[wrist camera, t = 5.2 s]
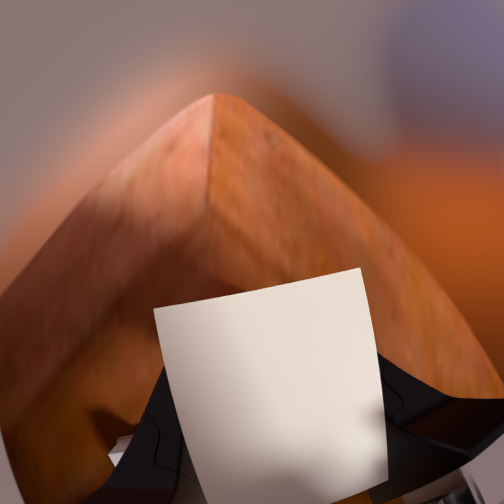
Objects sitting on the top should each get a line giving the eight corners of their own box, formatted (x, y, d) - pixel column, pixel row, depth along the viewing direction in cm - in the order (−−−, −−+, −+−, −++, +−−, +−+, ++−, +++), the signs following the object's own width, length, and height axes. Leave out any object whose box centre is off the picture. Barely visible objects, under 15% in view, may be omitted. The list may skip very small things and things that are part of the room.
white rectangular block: (277, 370, 17) (387, 479, 4) (221, 382, 16) (218, 527, 3) (263, 300, 17) (359, 267, 5) (206, 311, 17) (153, 308, 4)
